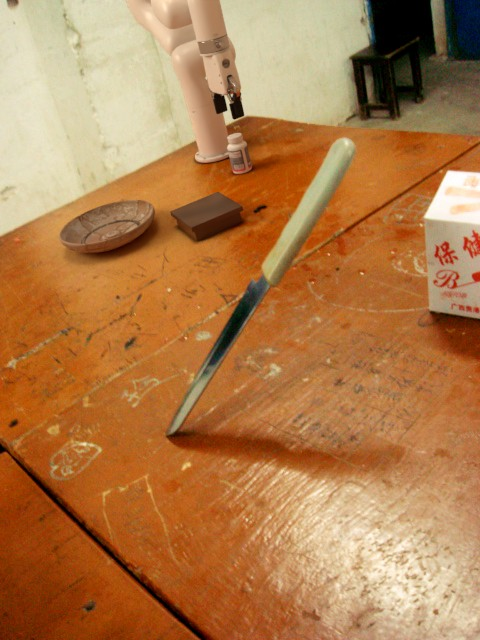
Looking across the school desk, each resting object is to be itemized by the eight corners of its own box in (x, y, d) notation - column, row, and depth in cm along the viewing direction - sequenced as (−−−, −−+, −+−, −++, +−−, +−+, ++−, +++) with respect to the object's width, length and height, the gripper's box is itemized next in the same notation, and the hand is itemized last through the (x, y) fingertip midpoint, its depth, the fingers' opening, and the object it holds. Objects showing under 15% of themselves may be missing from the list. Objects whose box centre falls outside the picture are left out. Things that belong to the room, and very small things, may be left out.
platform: (174, 226, 153) (169, 211, 150) (221, 206, 156) (218, 191, 154) (195, 243, 142) (191, 227, 140) (246, 221, 146) (242, 205, 144)
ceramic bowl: (175, 232, 150) (169, 213, 147) (83, 274, 142) (75, 255, 139) (138, 208, 168) (132, 190, 165) (54, 244, 160) (46, 226, 157)
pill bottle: (243, 165, 176) (235, 130, 171) (256, 167, 173) (248, 132, 167) (229, 172, 174) (220, 138, 169) (241, 175, 170) (233, 140, 165)
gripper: (243, 42, 150) (258, 115, 159) (212, 39, 164) (228, 105, 173) (215, 52, 148) (232, 125, 157) (186, 48, 162) (203, 115, 171)
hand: (230, 115), depth 165 cm, fingers open, 9 cm apart
